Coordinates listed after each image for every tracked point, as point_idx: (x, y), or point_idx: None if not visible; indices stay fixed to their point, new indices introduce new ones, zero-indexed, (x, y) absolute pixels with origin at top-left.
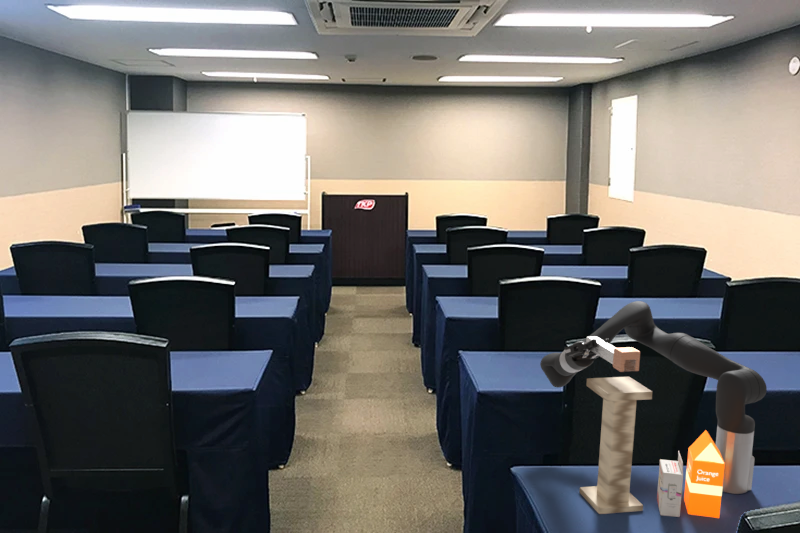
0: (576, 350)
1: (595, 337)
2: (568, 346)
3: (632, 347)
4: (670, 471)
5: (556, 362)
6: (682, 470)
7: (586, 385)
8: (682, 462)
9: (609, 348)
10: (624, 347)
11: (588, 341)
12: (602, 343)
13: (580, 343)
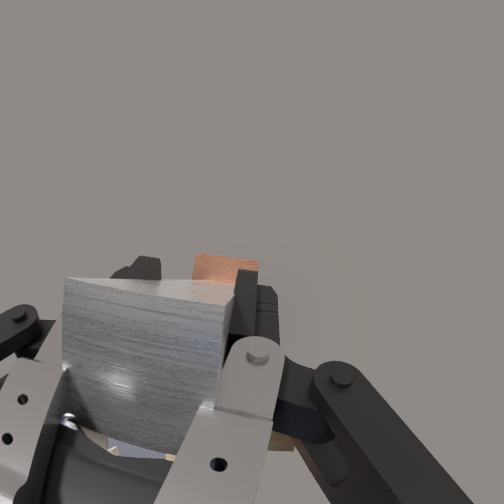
0: (344, 480)
1: (127, 285)
2: (455, 485)
3: (198, 253)
4: None
5: None
6: (118, 455)
7: (293, 450)
8: (116, 446)
9: (225, 284)
10: (222, 256)
11: (224, 347)
12: (207, 285)
13: (334, 365)
